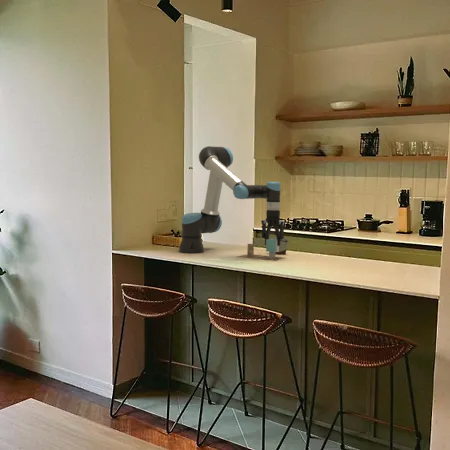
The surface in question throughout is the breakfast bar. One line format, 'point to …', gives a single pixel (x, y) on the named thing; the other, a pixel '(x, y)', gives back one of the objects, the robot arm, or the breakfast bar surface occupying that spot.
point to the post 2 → (271, 255)
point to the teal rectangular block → (271, 245)
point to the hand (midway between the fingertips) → (272, 251)
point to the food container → (282, 246)
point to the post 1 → (250, 250)
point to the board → (261, 257)
